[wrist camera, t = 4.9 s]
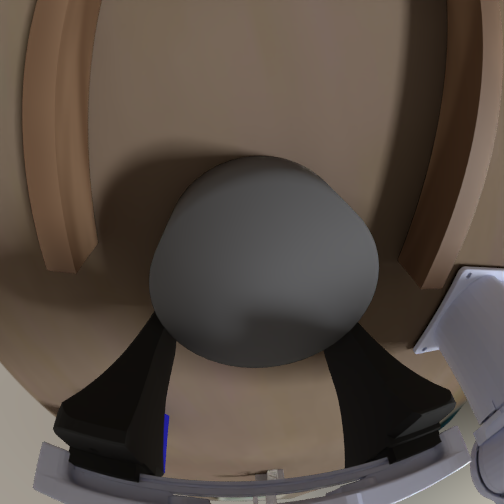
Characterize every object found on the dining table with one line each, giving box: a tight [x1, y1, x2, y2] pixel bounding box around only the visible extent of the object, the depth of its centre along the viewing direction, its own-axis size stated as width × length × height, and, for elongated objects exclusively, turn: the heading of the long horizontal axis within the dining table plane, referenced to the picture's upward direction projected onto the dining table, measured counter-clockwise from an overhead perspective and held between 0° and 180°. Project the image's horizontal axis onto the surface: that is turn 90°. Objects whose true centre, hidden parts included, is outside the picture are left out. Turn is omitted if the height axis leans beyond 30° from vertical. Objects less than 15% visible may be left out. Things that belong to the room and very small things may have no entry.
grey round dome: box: [149, 156, 379, 368], centre depth 11 cm, size 8×8×4 cm
